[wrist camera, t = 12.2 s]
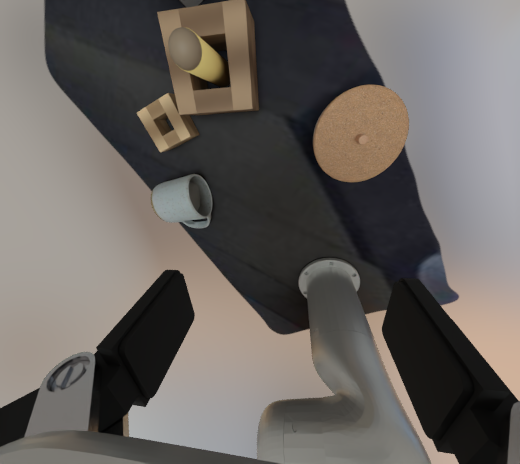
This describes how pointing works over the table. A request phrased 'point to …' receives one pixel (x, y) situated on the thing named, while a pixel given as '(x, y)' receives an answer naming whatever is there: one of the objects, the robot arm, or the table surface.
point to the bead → (219, 38)
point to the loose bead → (158, 126)
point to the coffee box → (191, 2)
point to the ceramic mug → (183, 201)
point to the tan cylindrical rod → (198, 57)
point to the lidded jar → (360, 133)
